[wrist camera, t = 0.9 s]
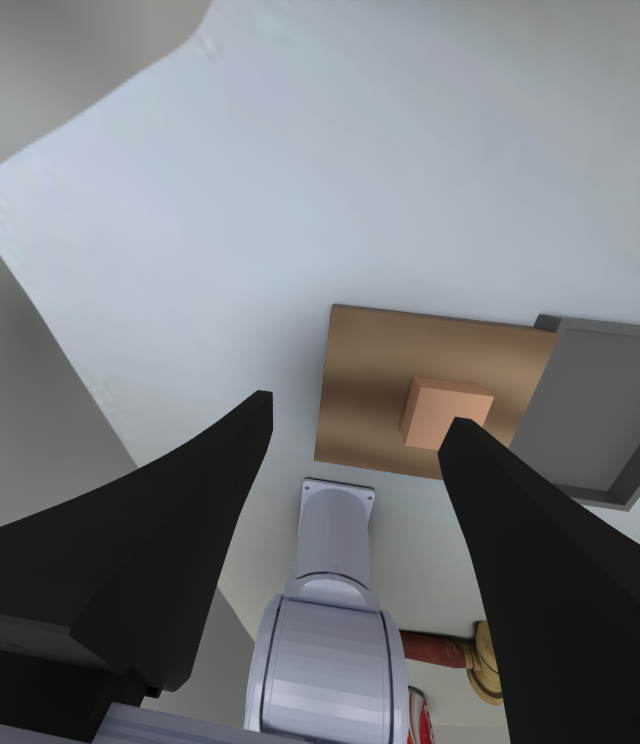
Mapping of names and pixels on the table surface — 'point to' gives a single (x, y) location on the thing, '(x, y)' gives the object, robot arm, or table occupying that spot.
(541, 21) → the table surface
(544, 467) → the tray
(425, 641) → the gavel
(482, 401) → the tile
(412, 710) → the soda can
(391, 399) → the platform
